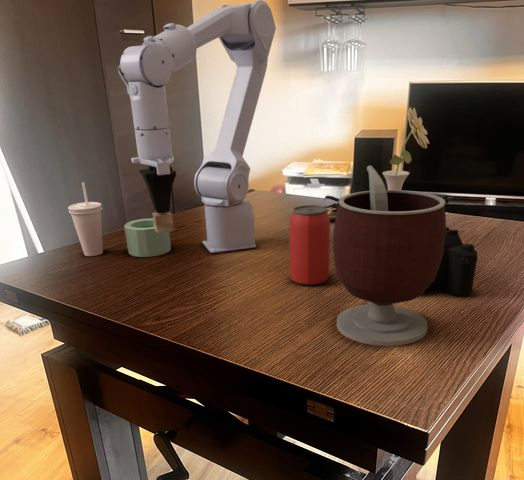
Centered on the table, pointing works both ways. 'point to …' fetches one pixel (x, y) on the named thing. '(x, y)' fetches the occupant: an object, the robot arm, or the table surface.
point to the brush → (163, 222)
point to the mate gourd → (387, 259)
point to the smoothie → (88, 225)
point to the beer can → (309, 245)
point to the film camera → (456, 266)
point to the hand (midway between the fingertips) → (162, 211)
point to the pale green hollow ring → (146, 239)
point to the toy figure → (332, 207)
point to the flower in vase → (406, 152)
